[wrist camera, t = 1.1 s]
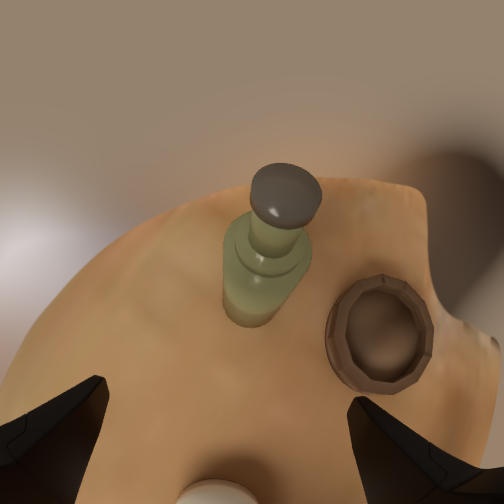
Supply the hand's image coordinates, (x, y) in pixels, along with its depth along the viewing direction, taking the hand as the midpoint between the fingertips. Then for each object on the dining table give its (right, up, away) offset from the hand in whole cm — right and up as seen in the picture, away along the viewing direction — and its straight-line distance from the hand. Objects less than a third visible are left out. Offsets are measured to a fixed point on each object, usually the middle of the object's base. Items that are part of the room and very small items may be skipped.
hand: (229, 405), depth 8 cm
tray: (+13, -3, +15) cm, 20 cm away
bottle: (+1, +1, +15) cm, 15 cm away
